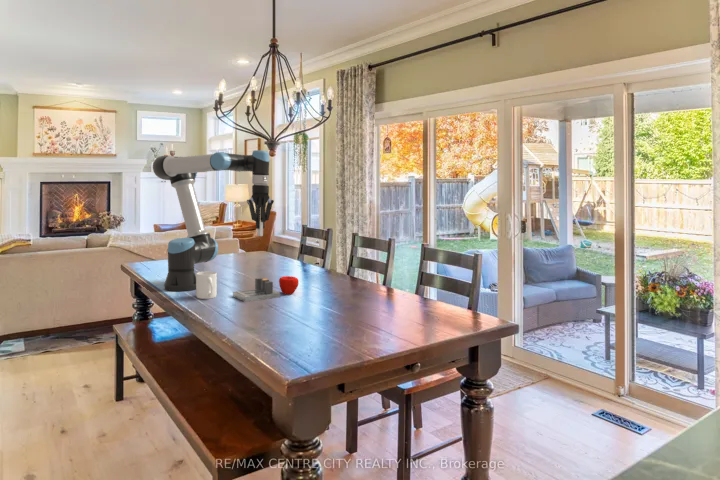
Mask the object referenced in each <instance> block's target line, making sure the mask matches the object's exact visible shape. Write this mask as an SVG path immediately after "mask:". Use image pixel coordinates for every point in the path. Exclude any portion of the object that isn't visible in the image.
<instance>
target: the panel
mask: <svg viewBox="0 0 720 480" xmlns="http://www.w3.org/2000/svg"><path fill="white" fill-rule="evenodd" d="M232 297H234V298H236V299H238V300H240V301H242V302H245V303H247V302H255V301H261V300H267V299H268V300H270V299H277V298H281V292H279V291H276V290H274V289H273V293H269V294H266V293H264V292H262V291H261V290H256V289H255V288H254V289H248V290H237V291H232Z"/></svg>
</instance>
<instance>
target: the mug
mask: <svg viewBox="0 0 720 480" xmlns="http://www.w3.org/2000/svg"><path fill="white" fill-rule="evenodd" d="M217 274H218V273H217V272H215V271H199V272H196V273H195V275H196V289H195V295H196V296H195V297H196V298H197V299H200V300H209V299H210V300H211V299H215V298H216V297H217V294H218V293H217V292H218V287H217V283H218V282H217V281H218V278H217Z"/></svg>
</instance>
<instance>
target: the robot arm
mask: <svg viewBox="0 0 720 480" xmlns="http://www.w3.org/2000/svg"><path fill="white" fill-rule="evenodd" d="M251 153H252V154H238V153H237V154H236V153H227V152H224V151H223V152H219V151H217V152H215V153H210V154H200V155H199V154H198V155H191V156H189V155H188V156H173V155H161V156H158V157H156V159H155V160H154V161H153V163H152V171H153V174H154V175H155V176H156V177H157V178H159V179H160V180H165V181H169V182H170V185H171V187H173V188H174V189H175V191H176V196H177V199H178V203H179V207H180V210H181V214H182V217H183V222H184V225H185V228H186V229H185V230H186V233H187V236H186V237H179V238H174V239H171V240H170V241H169V242H167V274H166V278H165V280H164V285H163V287H164V290H165V291H169V292H187V291H193V290H196V273H195V272H196V271H195V265H196V264H203V263H207V262H211V261H213V260H215V258H217V255H218V254H219V243H218V242H217V240H216V239H214V238H212V236H211V233H210V232H209V231H207V230H206V228H205V223H204V219H203V215H202V212H201V209H200V204H199V201H198V197H197V194H196V191H195V190H196V189H195V186H194V185H195V183H196V178H197V176H198V175H197V174H198V173H205V172H206V173H207V172H217V171H219V172H220V171H233V172H241V173H242V172H251V173H252V177H251V178H252V180H251V182H252V183H251V184H252V186H251V190H252V191H251V194H252V195H251V198H249V199H246V203H247V204H248V207H249V208H248V209H249V212H250V217H251V220H252V221H254V222H255V229H256V230H257V231H256V233H257V234H256V235H257V237H263V236H264V230H265V226H266V225H265V224H266V222H267V221H269V219H270V215H271V211H272V210H271V209H272V207H273V206H272V205H273V204H274V201H275V200H274V199H271V198H270V196H269V194H270V186H269V183H270V153H269V151H267V150H260V149H259V150H256V149H255V150H253V151H252V152H251ZM266 204H267V205H266Z"/></svg>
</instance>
